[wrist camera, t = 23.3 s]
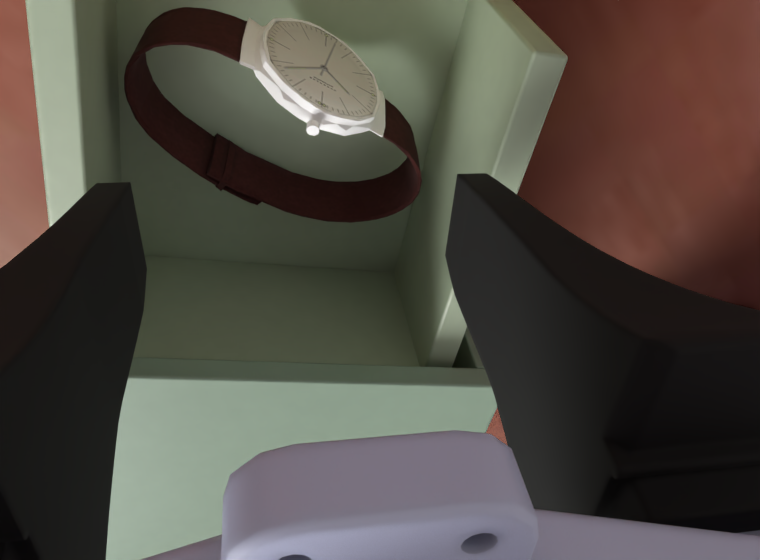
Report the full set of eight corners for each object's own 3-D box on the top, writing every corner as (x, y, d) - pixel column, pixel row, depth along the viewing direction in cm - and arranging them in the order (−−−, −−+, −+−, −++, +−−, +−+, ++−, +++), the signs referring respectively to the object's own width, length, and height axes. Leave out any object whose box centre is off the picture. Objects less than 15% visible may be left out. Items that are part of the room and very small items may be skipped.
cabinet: (62, 193, 21) (-8, 373, 15) (443, 226, 24) (507, 386, 18) (86, 463, 29) (46, 649, 23) (369, 462, 32) (398, 626, 26)
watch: (445, 95, 19) (481, 159, 16) (357, 222, 21) (375, 298, 18) (176, -61, 15) (161, -15, 13) (104, 110, 18) (78, 182, 15)
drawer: (18, -608, 11) (-138, -842, 6) (625, -395, 14) (811, -456, 9) (81, 250, 21) (37, 392, 17) (421, 274, 24) (463, 400, 20)
